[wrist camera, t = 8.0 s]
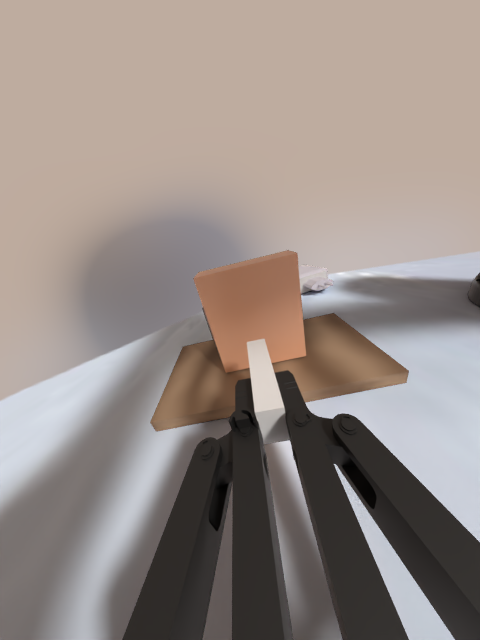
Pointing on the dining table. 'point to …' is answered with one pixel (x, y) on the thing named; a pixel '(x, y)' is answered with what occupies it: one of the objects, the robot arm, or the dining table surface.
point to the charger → (313, 278)
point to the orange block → (254, 308)
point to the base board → (309, 372)
